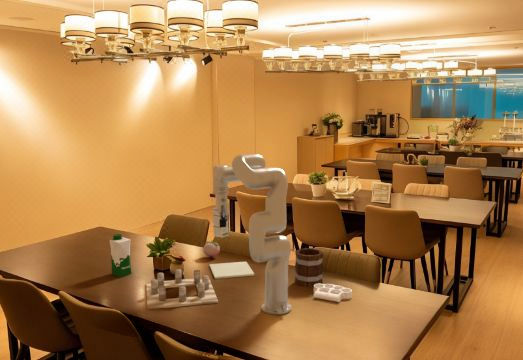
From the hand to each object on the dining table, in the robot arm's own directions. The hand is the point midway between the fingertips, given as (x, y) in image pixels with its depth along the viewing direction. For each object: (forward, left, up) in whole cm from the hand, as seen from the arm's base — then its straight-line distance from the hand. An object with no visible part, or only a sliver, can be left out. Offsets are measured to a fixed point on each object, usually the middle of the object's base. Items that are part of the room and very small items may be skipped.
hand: (221, 224), depth 246 cm
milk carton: (+13, +49, -26) cm, 57 cm away
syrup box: (0, 0, -6) cm, 6 cm away
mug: (-17, -41, -26) cm, 51 cm away
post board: (-20, +22, -26) cm, 40 cm away
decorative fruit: (+29, +1, -26) cm, 39 cm away
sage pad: (+5, -6, -26) cm, 27 cm away
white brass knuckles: (-38, -44, -27) cm, 64 cm away
